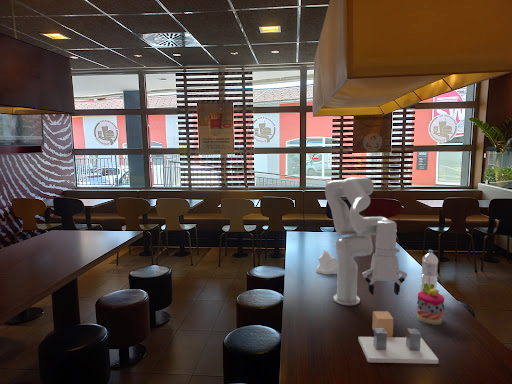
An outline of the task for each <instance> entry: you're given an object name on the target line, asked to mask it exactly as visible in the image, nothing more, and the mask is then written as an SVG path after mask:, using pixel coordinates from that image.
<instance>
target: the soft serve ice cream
mask: <svg viewBox="0 0 512 384" xmlns="http://www.w3.org/2000/svg"><path fill="white" fill-rule="evenodd" d="M318 262H319V264H318V266H317V267H316V269H315V271H316V272H315V273H318V274H321V275H322V274H323V275H337V258H335V257H334V256H332V254H331V253H330V252H329V251H328V250H326V249H325V250H323V253H322V254H321V256H319V257H318Z"/></svg>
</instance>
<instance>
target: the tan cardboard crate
mask: <svg viewBox="0 0 512 384" xmlns="http://www.w3.org/2000/svg"><path fill="white" fill-rule="evenodd" d="M371 326H372V327H371V329H372V331H373V332H374V328H384V329H385V331H386V333H387V337H393V334H394V318H393V316H392V315H391V313H390V312H389V311H382V310H381V311H380V310H378V311H377V310H376V311H374V310H373V311H372V323H371Z"/></svg>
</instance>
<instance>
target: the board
mask: <svg viewBox="0 0 512 384" xmlns="http://www.w3.org/2000/svg"><path fill="white" fill-rule="evenodd" d="M373 339H374V336H358V343H359V345H360V346H361V350H362V351H363V355H364V356H365V358H366V361H367V362H368V363H386V364H387V363H389V364H390V363H393V364H431V365H432V364H433V365H434V364H435V365H437V364H438V365H439V362H440V361H439V358H438V357H437V355H436V354H435V353H434V351H432V349H431V348H430V346H428V344H427V343H426V342H425V340H424V339H423V338H422V337H421V340H420V351H410V350H409V349H408V347H407V346H406V337H401V336H400V337H399V336H398V337H395V336H394V337H387V343H386V350H376V349H375V347H374V345H373Z"/></svg>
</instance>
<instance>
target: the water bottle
mask: <svg viewBox="0 0 512 384" xmlns="http://www.w3.org/2000/svg"><path fill="white" fill-rule="evenodd" d="M421 259H422V262H421V263H422V266H421V267H422V268H421V280H420V292H421V291H423V288H424V286H423V285H424V283H427V284H428V286H430V284H434V289H435V290H437V285H438V284H437V282H438V265H439V259H438V257H437V256H436V254H434V250H432V249H428V253H426V254H425V255H423V256H422V258H421Z"/></svg>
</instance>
